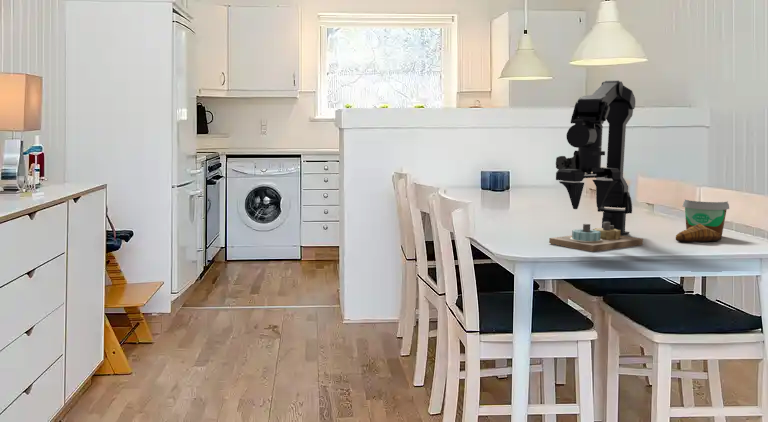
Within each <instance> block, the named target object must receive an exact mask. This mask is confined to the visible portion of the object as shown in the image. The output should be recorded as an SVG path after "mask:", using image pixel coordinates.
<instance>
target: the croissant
mask: <svg viewBox="0 0 768 422" xmlns="http://www.w3.org/2000/svg"><path fill="white" fill-rule="evenodd" d="M722 237H723V236H722ZM722 237H721V234H719V233H718V232H716V231H714V230H712V229H709V228H707V227H705V226H703V225H701V224H698V225H695V226H692V227H689V228H688V229H687V230H686V229H685V230H684V229H683V230H682V231H679V232H678V233H677V234H676V235H675V240H676V241H677V242H679V243H706V242H717V241H718V242H719V241H721V239H722Z"/></svg>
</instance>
